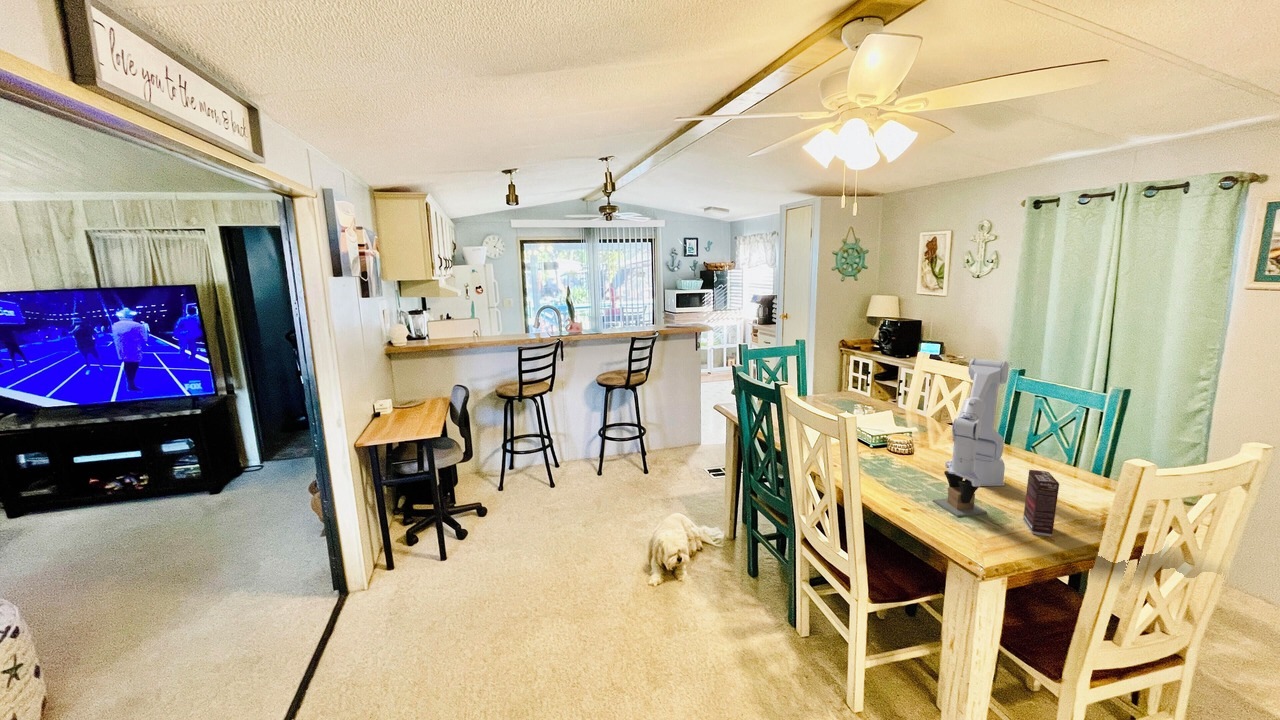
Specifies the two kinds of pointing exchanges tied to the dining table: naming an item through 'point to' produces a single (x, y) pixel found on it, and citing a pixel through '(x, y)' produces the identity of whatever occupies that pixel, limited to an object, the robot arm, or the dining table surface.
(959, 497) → the walnut cube
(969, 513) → the slate coaster
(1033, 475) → the supplement box
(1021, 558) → the dining table surface
